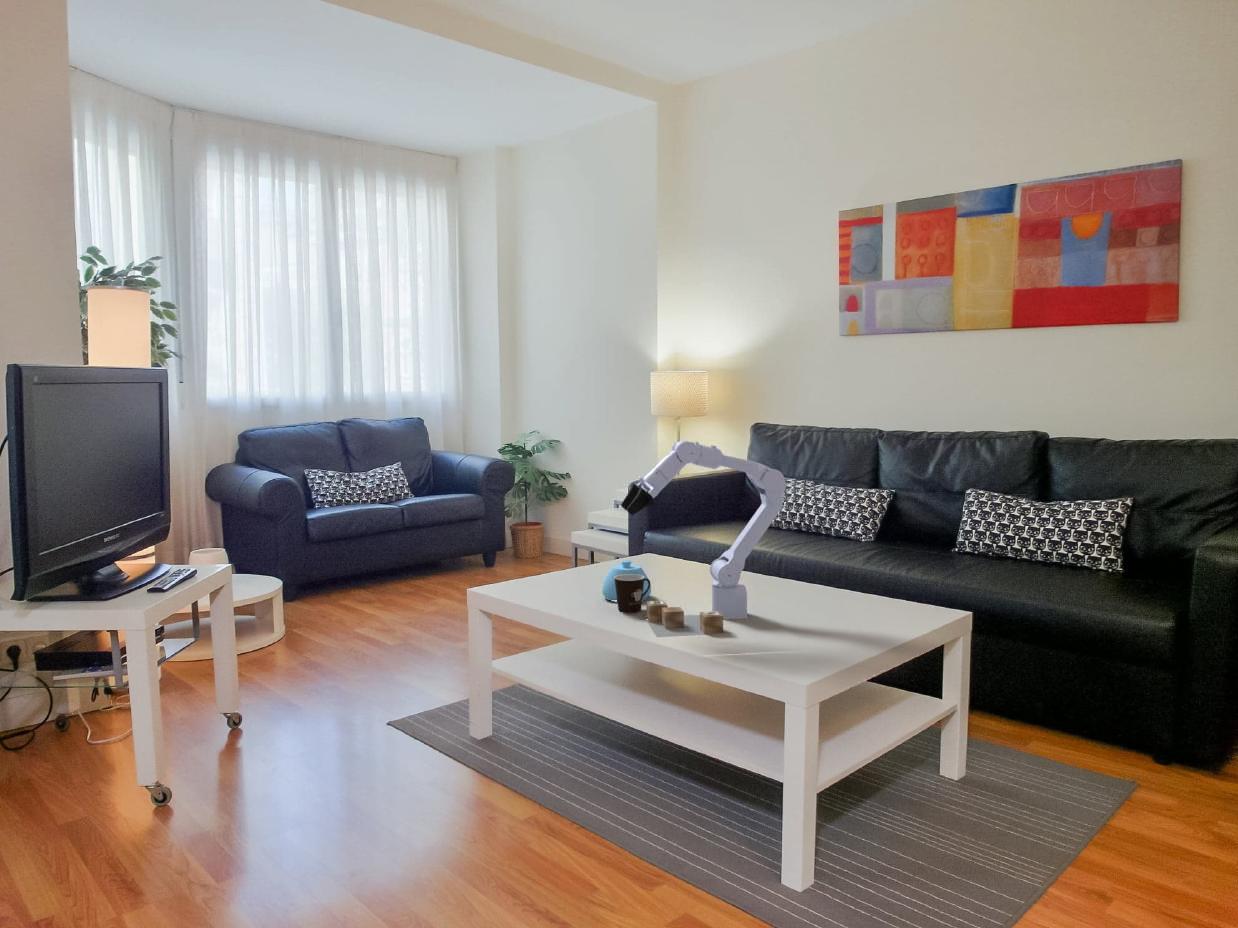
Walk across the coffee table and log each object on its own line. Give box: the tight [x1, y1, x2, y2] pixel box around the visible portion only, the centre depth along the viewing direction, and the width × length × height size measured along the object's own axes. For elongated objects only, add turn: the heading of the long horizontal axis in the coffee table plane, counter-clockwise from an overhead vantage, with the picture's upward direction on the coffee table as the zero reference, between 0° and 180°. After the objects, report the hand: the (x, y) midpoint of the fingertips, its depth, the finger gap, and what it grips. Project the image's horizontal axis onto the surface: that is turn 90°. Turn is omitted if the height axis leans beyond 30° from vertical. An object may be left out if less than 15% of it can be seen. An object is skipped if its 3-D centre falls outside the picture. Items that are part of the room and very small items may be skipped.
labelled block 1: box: [645, 600, 669, 622], centre depth 243 cm, size 5×5×5 cm
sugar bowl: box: [601, 560, 652, 601], centre depth 270 cm, size 15×15×12 cm
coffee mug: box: [614, 574, 651, 614], centre depth 254 cm, size 12×9×10 cm
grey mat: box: [644, 614, 726, 638], centre depth 237 cm, size 18×20×1 cm
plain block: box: [662, 606, 685, 629], centre depth 236 cm, size 5×5×4 cm
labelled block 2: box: [699, 611, 724, 635], centre depth 231 cm, size 5×5×5 cm
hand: (626, 510), depth 241 cm, fingers open, 7 cm apart
